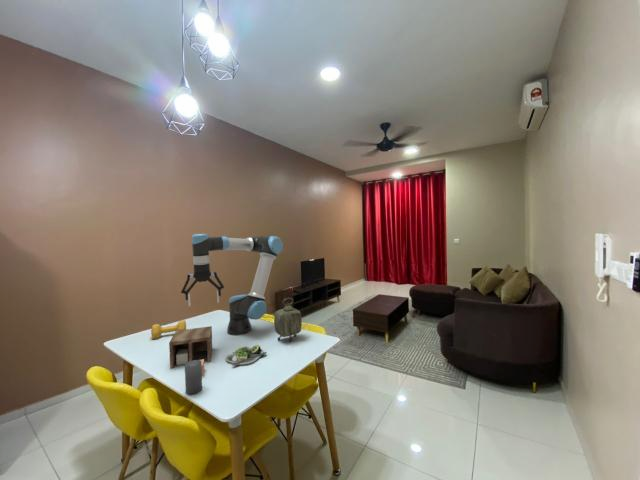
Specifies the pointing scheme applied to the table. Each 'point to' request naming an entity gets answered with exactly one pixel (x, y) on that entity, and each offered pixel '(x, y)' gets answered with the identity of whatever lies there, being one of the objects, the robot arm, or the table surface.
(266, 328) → the table surface
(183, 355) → the grey lane block
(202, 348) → the lane shelf
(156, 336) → the dumbbell
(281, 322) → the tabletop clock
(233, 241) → the robot arm
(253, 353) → the avocado toast plate
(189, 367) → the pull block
